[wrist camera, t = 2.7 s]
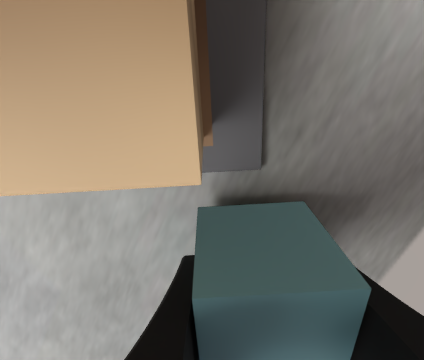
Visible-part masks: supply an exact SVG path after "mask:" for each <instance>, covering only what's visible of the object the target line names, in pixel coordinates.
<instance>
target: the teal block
mask: <svg viewBox="0 0 424 360" xmlns="http://www.w3.org/2000/svg"><path fill="white" fill-rule="evenodd" d="M370 292H371V287H370V286H369V285H368V283H367V282H366V281H365V280H364V278H363V277H362V276H361V274H360V273H359V272H358V271H357V269H356V268H355V267H354V265H353V264H352V263H351V262H350V260H349V259H348V258H347V256H346V255H345V254H344V253H343V251H342V250H341V249H340V247H339V246H338V245H337V244H336V242H335V241H334V240H333V238H332V237H331V236H330V234H329V233H328V232H327V231H326V229H325V228H324V227H323V225H322V224H321V223H320V222H319V220H318V219H317V218H316V216H315V215H314V214H313V213H312V211H311V210H310V209H309V207H308V206H307V205H306V204H305V202H304V201H300V202H283V203H266V204H248V205H231V206H214V207H198V214H197V230H196V245H195V260H194V275H193V291H192V303H193V311H194V319H195V327H196V335H197V343H198V351H199V359H200V360H350V359H351V355H352V352H353V349H354V345H355V342H356V339H357V336H358V332H359V329H360V326H361V322H362V319H363V316H364V312H365V309H366V306H367V302H368V299H369V296H370Z"/></svg>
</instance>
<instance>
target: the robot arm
mask: <svg viewBox="0 0 424 360" xmlns="http://www.w3.org/2000/svg"><path fill="white" fill-rule="evenodd" d="M194 260H195V255H188V256H184V257H183V258H182V260H181V263H180V266H179V268H178V270H177V273H176V275H175V277H174V279H173V281H172V283H171V285H170V287H169V289H168V291H167V293H166V295H165V296H164V298H163V300H162V302H161V304H160V306H159V307H158V309H157V311H156V312H155V314H154V316H153V317H152V319H151V321H150V322H149V324H148V326H147V327H146V329H145V330H144V332H143V333H142V335H141V336H140V338H139V339H138V341H137V342H136V344H135V345H134V347H133V348H132V350H131V351H130V352H129V354H128V355H127V357H126V358H125V359H124V360H200V359H199V351H198V343H197V335H196V327H195V319H194V311H193V303H192V291H193V275H194ZM354 267H355V266H354ZM355 268H356V267H355ZM356 269H357V268H356ZM357 271H358V272H359V273H360V274H361V276H362V277H363V278H364V280H365V281H366V282H367V283H368V285H369V286H370V287H371V292H370V296H369V299H368V302H367V306H366V309H365V312H364V316H363V319H362V322H361V326H360V329H359V332H358V336H357V339H356V342H355V345H354V349H353V352H352V355H351V359H350V360H424V316H423V315H421V314H420V313H418V312H417V311H415V310H414V309H412V308H411V307H409V306H408V305H406V304H405V303H403V302H402V301H401V300H399V299H398V298H396V297H395V296H393V295H392V294H391V293H389V292H388V291H386V290H385V289H384V288H382V287H381V286H380V285H378V284H377V283H376V282H374V281H373V280H372V279H370V278H369V277H368V276H366V275H365V274H364V273H362V272H361V271H360V270H358V269H357Z"/></svg>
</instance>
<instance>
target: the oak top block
mask: <svg viewBox="0 0 424 360" xmlns="http://www.w3.org/2000/svg"><path fill="white" fill-rule="evenodd" d="M203 139H204V136H203V122H202V107H201V93H200V78H199V64H198V49H197V35H196V20H195V5H194V0H0V196H13V195H30V194H48V193H66V192H83V191H101V190H118V189H136V188H153V187H171V186H189V185H201V179H202V159H203Z"/></svg>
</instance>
